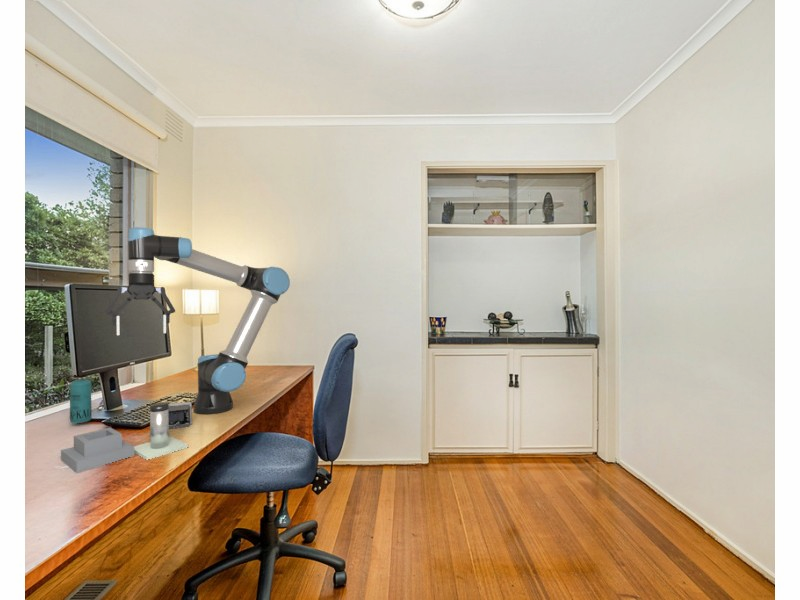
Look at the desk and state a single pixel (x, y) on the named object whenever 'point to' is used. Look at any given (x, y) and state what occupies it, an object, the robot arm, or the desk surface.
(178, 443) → the sage board
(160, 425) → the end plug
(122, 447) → the socket block
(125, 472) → the desk surface
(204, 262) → the robot arm
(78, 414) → the beverage bottle
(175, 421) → the electrical switch
